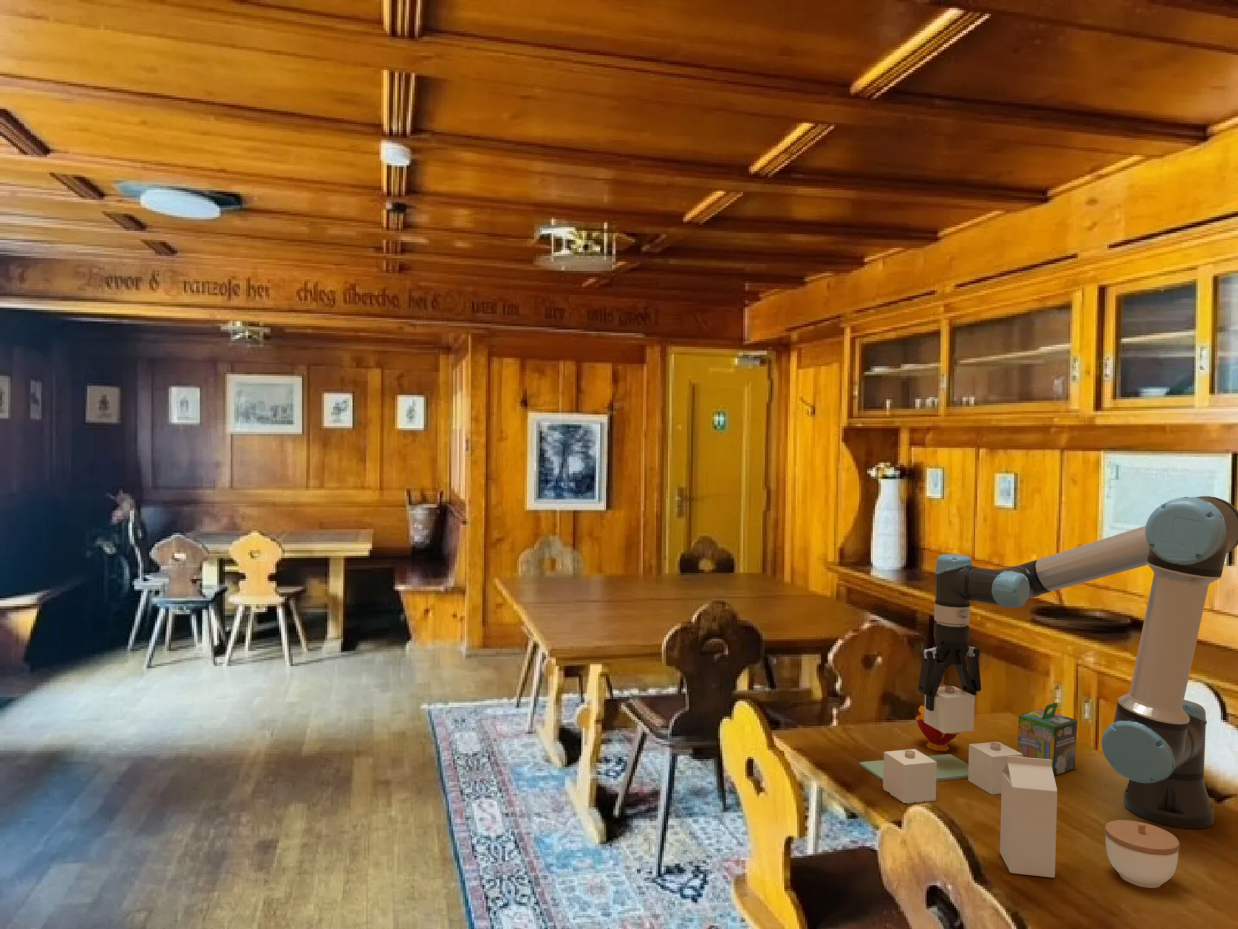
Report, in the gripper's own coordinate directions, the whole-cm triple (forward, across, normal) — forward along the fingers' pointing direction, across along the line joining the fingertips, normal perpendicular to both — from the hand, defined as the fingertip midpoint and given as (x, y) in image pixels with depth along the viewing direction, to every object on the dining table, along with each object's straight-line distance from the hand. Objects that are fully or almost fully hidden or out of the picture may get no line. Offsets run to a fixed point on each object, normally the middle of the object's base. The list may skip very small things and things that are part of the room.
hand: (948, 723), depth 190 cm
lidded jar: (+10, +1, -50) cm, 51 cm away
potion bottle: (+11, +6, +12) cm, 17 cm away
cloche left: (+10, -17, -11) cm, 23 cm away
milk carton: (+10, -15, -42) cm, 46 cm away
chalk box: (+10, +23, -4) cm, 26 cm away
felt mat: (+10, -7, 0) cm, 12 cm away
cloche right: (+10, +4, -11) cm, 16 cm away
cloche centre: (+1, 0, 0) cm, 1 cm away
